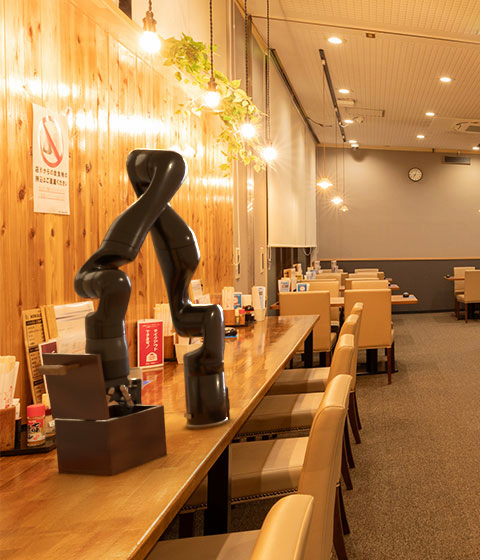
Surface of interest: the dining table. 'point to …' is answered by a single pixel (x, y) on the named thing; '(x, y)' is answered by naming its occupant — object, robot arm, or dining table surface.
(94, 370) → the lid
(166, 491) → the dining table surface
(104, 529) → the dining table surface
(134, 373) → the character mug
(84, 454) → the chest
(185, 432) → the dining table surface
